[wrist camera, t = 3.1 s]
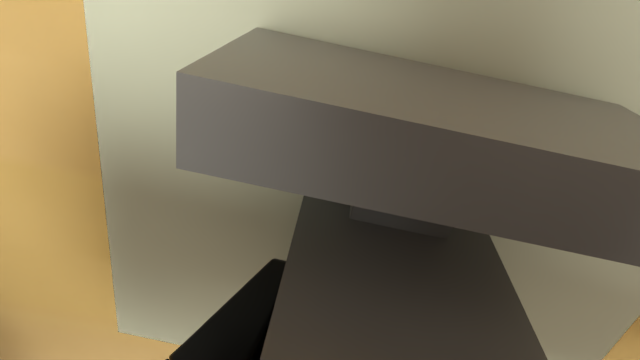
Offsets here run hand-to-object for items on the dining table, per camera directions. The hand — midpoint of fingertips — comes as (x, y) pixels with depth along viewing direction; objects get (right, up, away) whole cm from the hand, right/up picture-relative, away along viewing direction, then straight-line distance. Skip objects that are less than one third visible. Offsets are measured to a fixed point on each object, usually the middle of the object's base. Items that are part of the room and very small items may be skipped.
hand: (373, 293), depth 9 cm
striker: (0, +2, 0) cm, 2 cm away
